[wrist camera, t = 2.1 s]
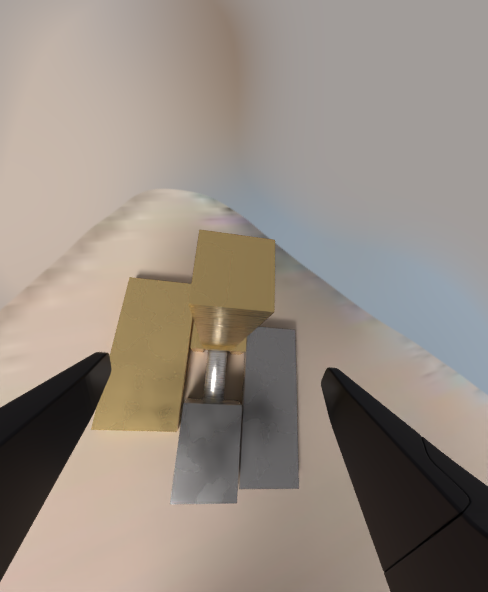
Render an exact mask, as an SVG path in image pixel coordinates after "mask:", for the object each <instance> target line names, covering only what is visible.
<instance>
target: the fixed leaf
mask: <svg viewBox="0 0 488 592" xmlns="http://www.w3.org/2000/svg"><path fill="white" fill-rule="evenodd" d="M226 361H227V351H217V350H208V357H207V366H206V376H205V385H204V394H203V399H192V398H187V399H186V401H185V402H184V404H183V411H182V419H181V426H180V434H179V441H178V448H177V456H176V463H175V471H174V478H173V486H172V493H171V501H170V504H221V503H237V491H238V485H239V489H299V478H298V434H297V390H296V345H295V330H290V329H279V328H267V327H257V328H256V329H255V330H254V331H253V332H252V333H251V334H250V335H249V336H247V339H246V352H245V357H244V375H243V394H242V405H241V404H240V403H239V402H238V400H223V399H224V387H225V374H226Z"/></svg>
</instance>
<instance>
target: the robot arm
mask: <svg viewBox="0 0 488 592" xmlns="http://www.w3.org/2000/svg"><path fill="white" fill-rule="evenodd" d="M111 370H112V368H111V362H110V356H109V354H108V353H105V352H96V353H94V354H92V355H90V356H89V357H87V358H85V359H84V360H82V361H80V362H78V363H77V364H75V365H73V366H71V367H70V368H68V369H66V370H64V371H63V372H61V373H59V374H58V375H56V376H54V377H52V378H51V379H49V380H47V381H45V382H44V383H42V384H40V385H39V386H37V387H35V388H33V389H32V390H30V391H28V392H26V393H25V394H23V395H21V396H20V397H18V398H16V399H14V400H13V401H11V402H9V403H7V404H6V405H4V406H2V407H1V408H0V581H1V580H2V578H3V576H4V574H5V572H6V571H7V569H8V567H9V565H10V563H11V562H12V560H13V558H14V556H15V554H16V553H17V551H18V549H19V547H20V545H21V544H22V542H23V540H24V538H25V536H26V535H27V533H28V531H29V529H30V527H31V526H32V524H33V522H34V520H35V518H36V517H37V515H38V513H39V511H40V509H41V508H42V506H43V504H44V502H45V500H46V499H47V497H48V495H49V493H50V491H51V490H52V488H53V486H54V484H55V482H56V481H57V479H58V477H59V475H60V473H61V472H62V470H63V468H64V466H65V464H66V463H67V461H68V459H69V457H70V455H71V454H72V452H73V450H74V448H75V446H76V445H77V443H78V441H79V439H80V437H81V436H82V434H83V432H84V430H85V428H86V427H87V425H88V423H89V421H90V419H91V417H92V415H93V414H94V411H95V409H96V407H97V405H98V402H99V400H100V398H101V395H102V393H103V391H104V388H105V386H106V384H107V381H108V379H109V377H110V374H111ZM321 387H322V391H323V395H324V399H325V403H326V407H327V411H328V415H329V419H330V422H331V425H332V428H333V431H334V434H335V436H336V439H337V442H338V445H339V448H340V451H341V453H342V456H343V459H344V462H345V465H346V467H347V470H348V473H349V476H350V479H351V481H352V484H353V487H354V490H355V493H356V495H357V498H358V501H359V504H360V507H361V510H362V512H363V515H364V518H365V521H366V524H367V526H368V529H369V532H370V535H371V538H372V540H373V543H374V546H375V549H376V552H377V554H378V557H379V560H380V563H381V566H382V569H383V571H384V575H385V578H386V580H387V583H388V586H389V589H390V592H488V486H487V485H485V484H484V483H483V482H481V481H480V480H478V479H477V478H476V477H474V476H473V475H472V474H470V473H469V472H468V471H466V470H465V469H464V468H462V467H461V466H459V465H458V464H457V463H455V462H454V461H453V460H451V459H450V458H449V457H448V456H446V455H445V454H444V453H442V452H441V451H440V450H439V449H437V448H436V447H435V446H434V445H432V444H431V443H430V442H429V441H427V440H426V439H425V438H424V437H421V435H420V434H419V433H417V432H416V431H415V430H414V429H412V428H411V427H410V426H409V425H407V424H406V423H405V422H404V421H402V420H401V419H400V418H399V417H397V416H396V415H395V414H394V413H392V412H391V411H390V410H389V409H387V408H386V407H385V406H384V405H382V404H381V403H380V402H379V401H377V400H376V399H375V398H374V397H372V396H371V395H370V394H369V393H367V392H366V391H365V390H364V389H363V388H361V387H360V386H359V385H358V384H356V383H355V382H354V381H353V380H351V379H350V378H349V377H348V376H346V375H345V374H344V373H343V372H341V371H340V370H339V369H337V368H327V369H326V371H325V373H324V376H323V378H322V381H321Z"/></svg>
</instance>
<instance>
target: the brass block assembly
mask: <svg viewBox="0 0 488 592" xmlns="http://www.w3.org/2000/svg"><path fill="white" fill-rule="evenodd" d="M274 299H275V240H272V239H265V238H258V237H250V236H243V235H236V234H228V233H221V232H213V231H206V230H199V236H198V243H197V249H196V256H195V263H194V270H193V277H192V283H191V284H188V283H179V282H169V281H160V280H150V279H141V278H131V277H130V278H129V282H128V286H127V290H126V294H125V298H124V302H123V306H122V310H121V313H120V317H119V321H118V325H117V329H116V333H115V337H114V341H113V345H112V349H111V353H110V362H111V368H112V370H111V374H110V377H109V379H108V381H107V384H106V386H105V388H104V391H103V393H102V395H101V398H100V400H99V402H98V405H97V408H96V412H95V416H94V420H93V424H92V428H91V430H125V431H165V432H177V430H178V428H179V420H180V413H181V406H182V398H183V391H184V384H185V377H186V369H187V362H188V355H189V347H190V340H191V333H192V340H191V347H190V348H191V349H192V350H193V351H195V352H204V350H217V351H231V353H230V354H238V355H241V354H242V353H244V352H246V339H247V336H249V335H250V334H251V333H252V332H253V331H254V330H255V329H256V328H257V327H258V326H260V325H261V324H262V323H263V322H264V321H265V320H266V319H267V318H268V317H269V316H271V315H272V314H273V313H274ZM193 319H194V325H193ZM192 325H193V332H192Z"/></svg>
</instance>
